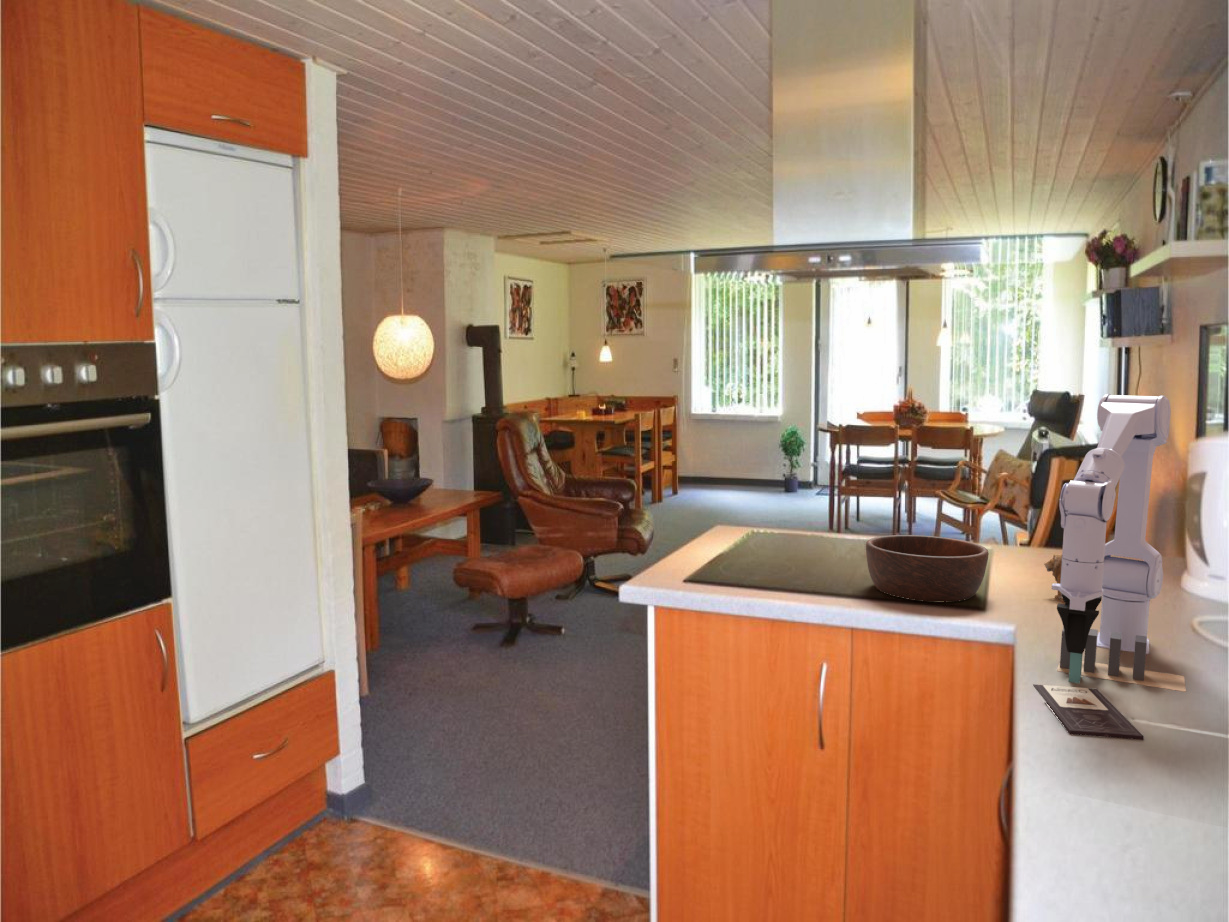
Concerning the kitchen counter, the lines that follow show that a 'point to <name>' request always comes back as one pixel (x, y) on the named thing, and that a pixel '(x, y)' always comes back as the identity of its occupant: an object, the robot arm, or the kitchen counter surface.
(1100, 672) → the cork strip
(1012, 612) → the kitchen counter surface
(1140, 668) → the domino
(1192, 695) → the kitchen counter surface
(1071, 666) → the domino
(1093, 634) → the domino
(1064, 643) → the domino
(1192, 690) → the kitchen counter surface
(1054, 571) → the lion figurine
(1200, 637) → the kitchen counter surface
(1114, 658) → the domino
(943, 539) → the wooden bowl
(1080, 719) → the chocolate bar
